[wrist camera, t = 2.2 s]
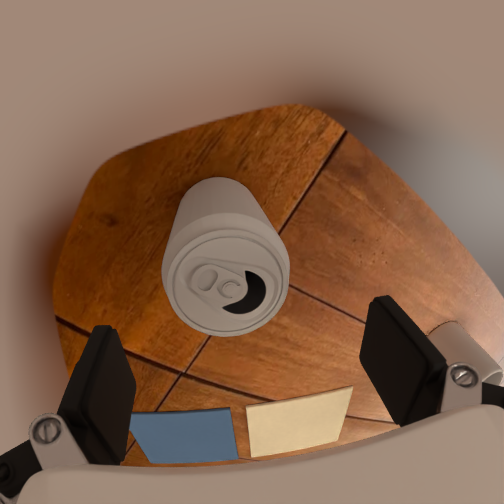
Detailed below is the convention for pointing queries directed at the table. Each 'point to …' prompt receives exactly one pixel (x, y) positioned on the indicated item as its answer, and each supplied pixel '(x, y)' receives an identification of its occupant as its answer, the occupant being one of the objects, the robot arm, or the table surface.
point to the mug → (465, 351)
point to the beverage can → (224, 260)
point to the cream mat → (297, 422)
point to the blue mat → (185, 435)
